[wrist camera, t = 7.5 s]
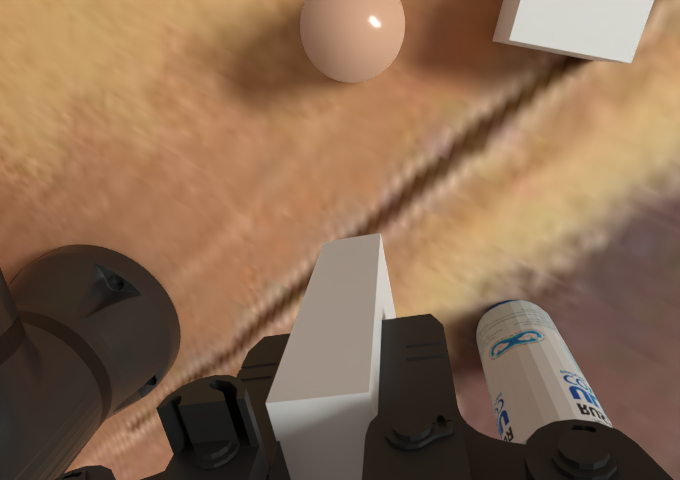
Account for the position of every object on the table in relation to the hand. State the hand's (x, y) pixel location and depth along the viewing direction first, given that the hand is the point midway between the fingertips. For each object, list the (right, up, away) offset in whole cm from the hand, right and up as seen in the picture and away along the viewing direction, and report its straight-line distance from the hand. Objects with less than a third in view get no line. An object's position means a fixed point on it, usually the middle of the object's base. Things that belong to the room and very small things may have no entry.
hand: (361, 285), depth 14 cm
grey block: (+14, +16, +20) cm, 30 cm away
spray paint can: (+14, -6, +29) cm, 33 cm away
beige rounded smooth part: (+1, +16, +22) cm, 27 cm away
